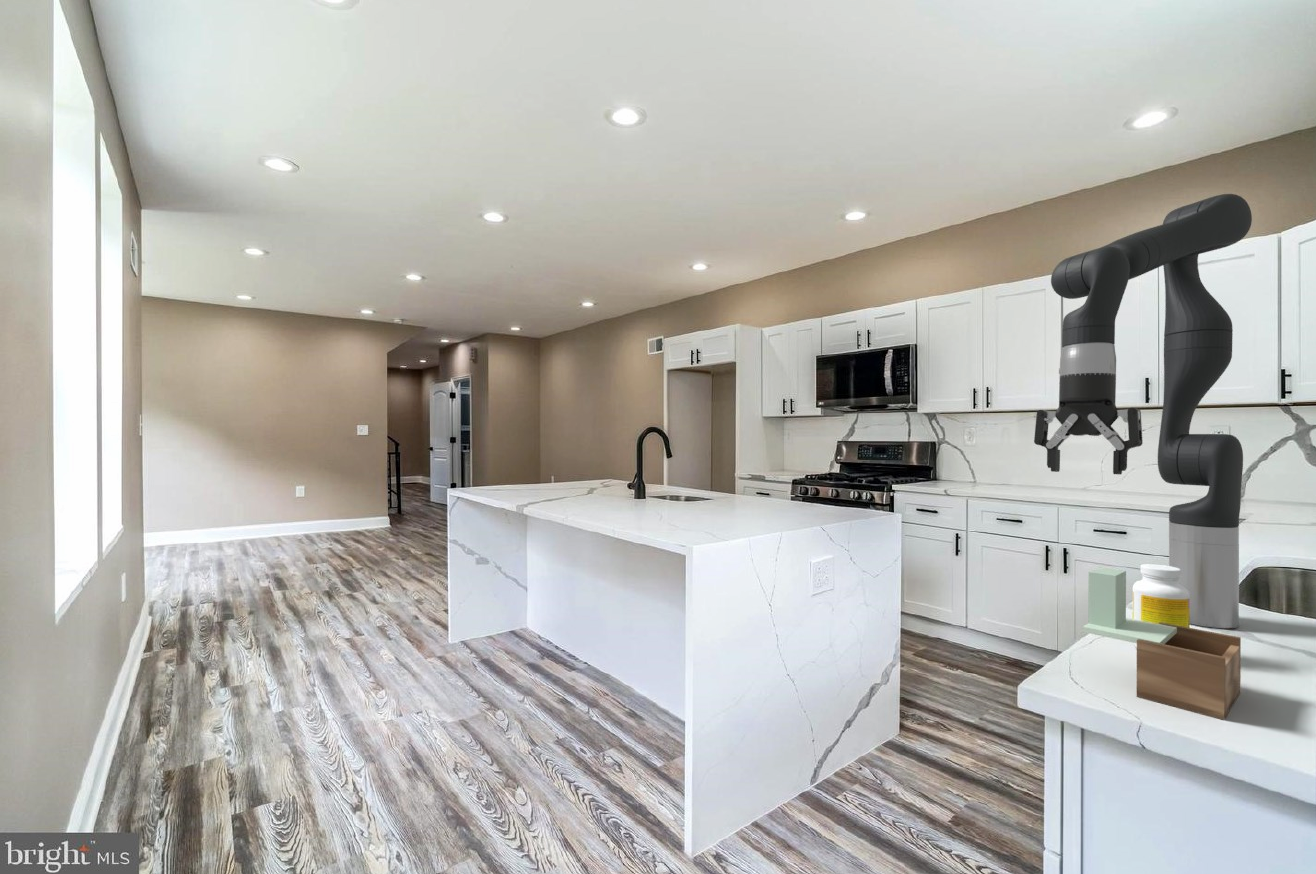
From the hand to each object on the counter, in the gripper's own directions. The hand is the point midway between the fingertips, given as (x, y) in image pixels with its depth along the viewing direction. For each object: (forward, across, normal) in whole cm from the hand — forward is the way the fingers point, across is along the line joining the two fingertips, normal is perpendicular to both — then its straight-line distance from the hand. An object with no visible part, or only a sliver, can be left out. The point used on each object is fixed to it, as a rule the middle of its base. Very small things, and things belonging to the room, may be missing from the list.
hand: (1085, 472), depth 98 cm
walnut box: (+27, -16, +16) cm, 35 cm away
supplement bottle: (+27, -10, -1) cm, 29 cm away
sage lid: (+21, -9, +16) cm, 28 cm away
